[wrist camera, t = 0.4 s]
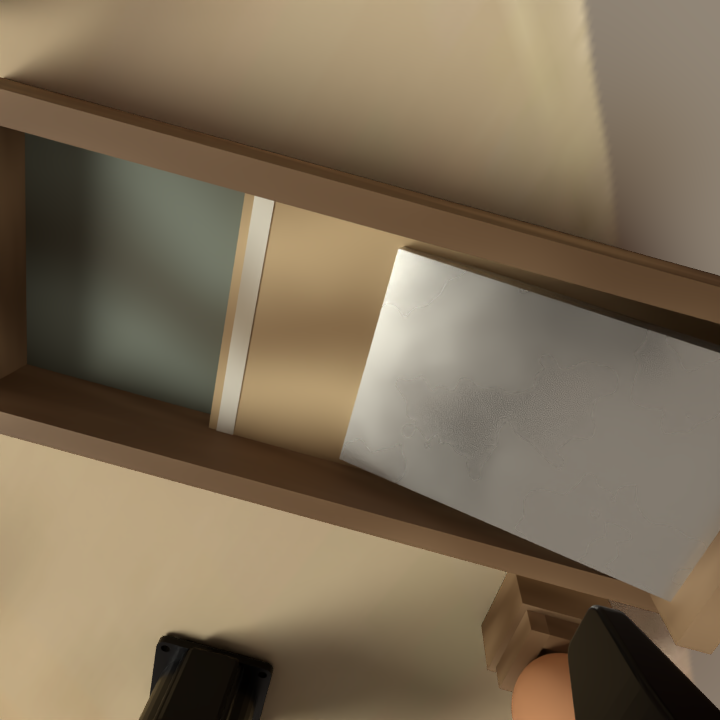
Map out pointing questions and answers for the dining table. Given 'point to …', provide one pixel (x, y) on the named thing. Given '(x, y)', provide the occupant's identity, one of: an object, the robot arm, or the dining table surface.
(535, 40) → the dining table surface
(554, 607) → the brown square frame
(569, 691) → the ball
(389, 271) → the lane
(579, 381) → the chute
